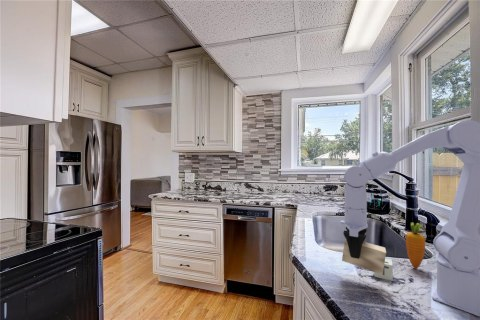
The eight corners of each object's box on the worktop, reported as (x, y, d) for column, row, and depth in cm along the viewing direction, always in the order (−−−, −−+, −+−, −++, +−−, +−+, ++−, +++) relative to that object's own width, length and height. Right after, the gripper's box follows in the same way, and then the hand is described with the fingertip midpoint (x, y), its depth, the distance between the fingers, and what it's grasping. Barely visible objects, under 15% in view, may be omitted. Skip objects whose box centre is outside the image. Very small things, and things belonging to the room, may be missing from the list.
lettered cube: (391, 274, 68) (391, 259, 68) (392, 281, 64) (392, 265, 64) (374, 270, 70) (374, 255, 70) (374, 277, 66) (374, 261, 66)
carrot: (406, 263, 75) (406, 219, 75) (425, 268, 71) (425, 222, 72) (405, 269, 71) (405, 222, 71) (425, 274, 68) (425, 225, 68)
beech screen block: (382, 268, 62) (385, 247, 62) (382, 274, 59) (386, 252, 58) (343, 255, 67) (346, 236, 67) (341, 260, 64) (344, 240, 63)
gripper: (343, 202, 72) (343, 244, 72) (337, 210, 60) (337, 260, 60) (367, 204, 69) (368, 248, 68) (367, 213, 56) (367, 267, 56)
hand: (355, 254), depth 64 cm, fingers closed on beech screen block, 4 cm apart
